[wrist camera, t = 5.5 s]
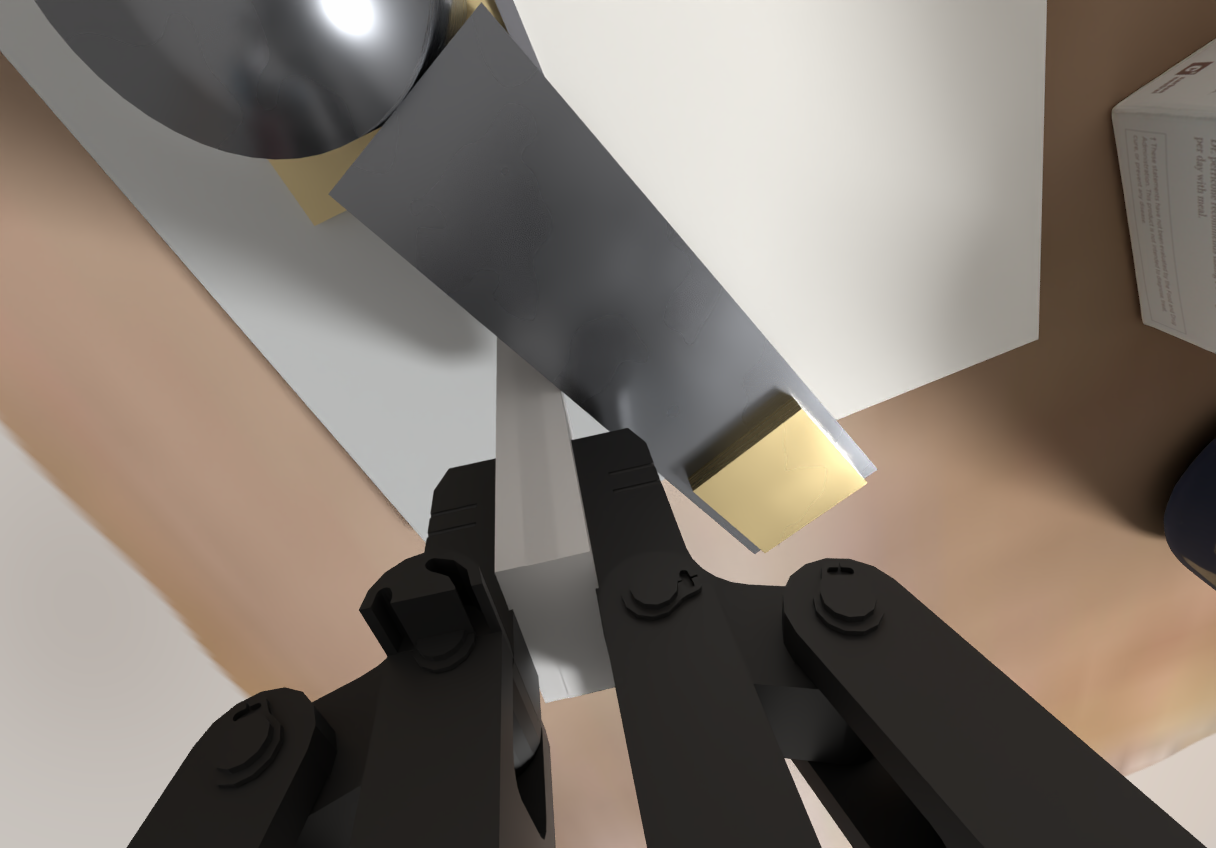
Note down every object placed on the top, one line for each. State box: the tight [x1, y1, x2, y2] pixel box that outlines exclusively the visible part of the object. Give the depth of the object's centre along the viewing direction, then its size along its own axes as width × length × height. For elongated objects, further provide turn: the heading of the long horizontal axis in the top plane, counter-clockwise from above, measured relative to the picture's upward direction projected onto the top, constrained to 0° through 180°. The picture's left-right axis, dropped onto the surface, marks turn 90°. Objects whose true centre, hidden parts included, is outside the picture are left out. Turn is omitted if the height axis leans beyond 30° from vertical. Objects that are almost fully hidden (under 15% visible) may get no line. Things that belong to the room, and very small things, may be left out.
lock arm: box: [34, 0, 878, 554], centre depth 10 cm, size 14×4×5 cm, turn 42°
